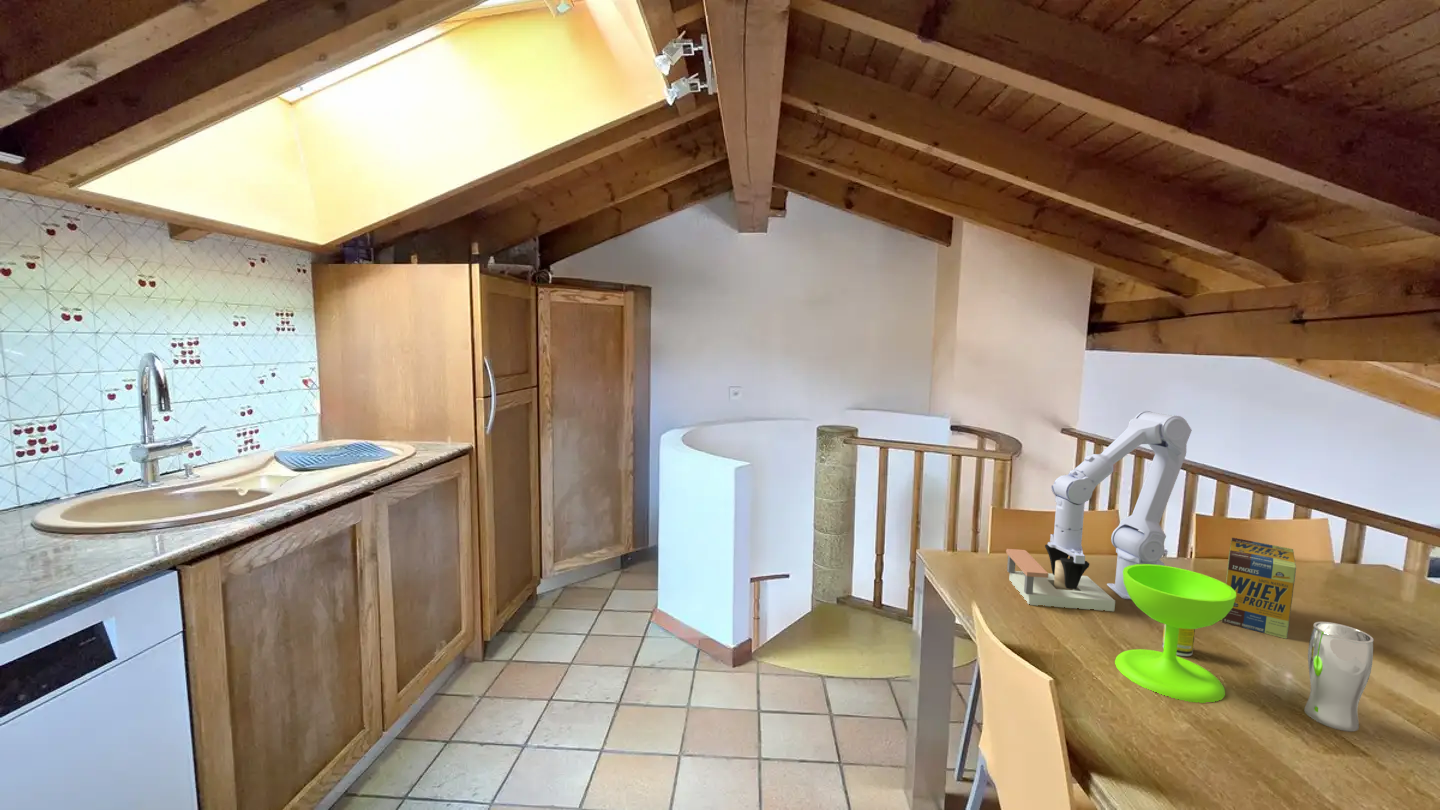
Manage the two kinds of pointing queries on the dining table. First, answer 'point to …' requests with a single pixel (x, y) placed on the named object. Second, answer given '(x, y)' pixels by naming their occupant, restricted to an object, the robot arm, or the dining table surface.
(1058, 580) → the peg
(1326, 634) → the beer glass
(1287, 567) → the protein box
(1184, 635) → the supplement bottle
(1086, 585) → the socket board
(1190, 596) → the wineglass
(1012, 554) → the pink miniature bench
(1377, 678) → the dining table surface
